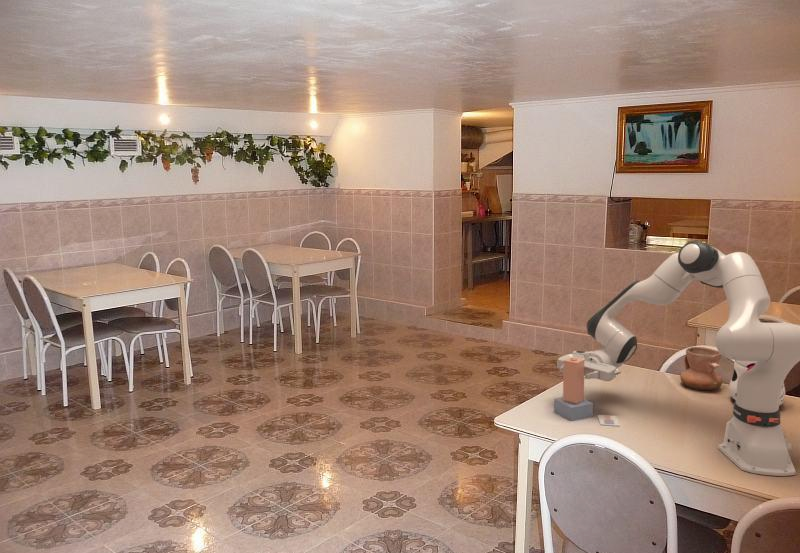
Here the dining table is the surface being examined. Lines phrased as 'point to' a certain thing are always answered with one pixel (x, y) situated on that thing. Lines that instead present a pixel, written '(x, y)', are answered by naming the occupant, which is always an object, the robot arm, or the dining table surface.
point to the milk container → (738, 371)
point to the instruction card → (608, 420)
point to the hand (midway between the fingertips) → (574, 373)
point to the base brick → (573, 409)
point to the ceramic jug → (701, 368)
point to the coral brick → (573, 380)
